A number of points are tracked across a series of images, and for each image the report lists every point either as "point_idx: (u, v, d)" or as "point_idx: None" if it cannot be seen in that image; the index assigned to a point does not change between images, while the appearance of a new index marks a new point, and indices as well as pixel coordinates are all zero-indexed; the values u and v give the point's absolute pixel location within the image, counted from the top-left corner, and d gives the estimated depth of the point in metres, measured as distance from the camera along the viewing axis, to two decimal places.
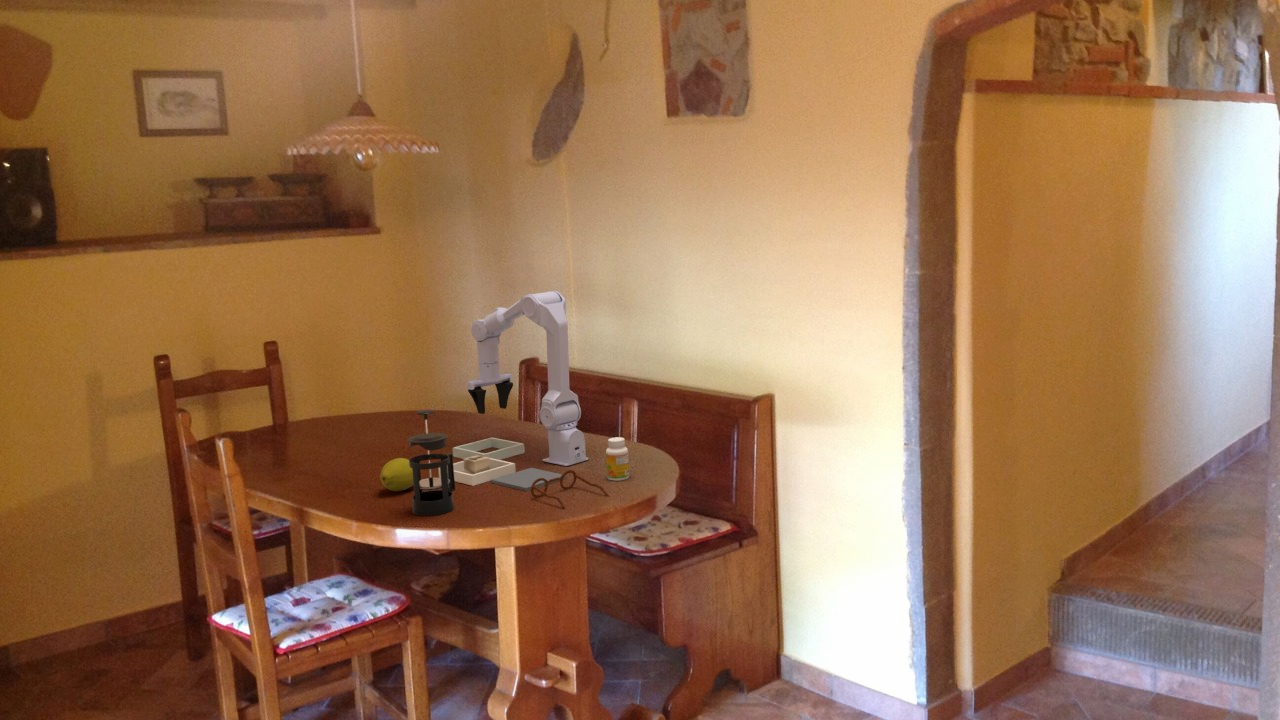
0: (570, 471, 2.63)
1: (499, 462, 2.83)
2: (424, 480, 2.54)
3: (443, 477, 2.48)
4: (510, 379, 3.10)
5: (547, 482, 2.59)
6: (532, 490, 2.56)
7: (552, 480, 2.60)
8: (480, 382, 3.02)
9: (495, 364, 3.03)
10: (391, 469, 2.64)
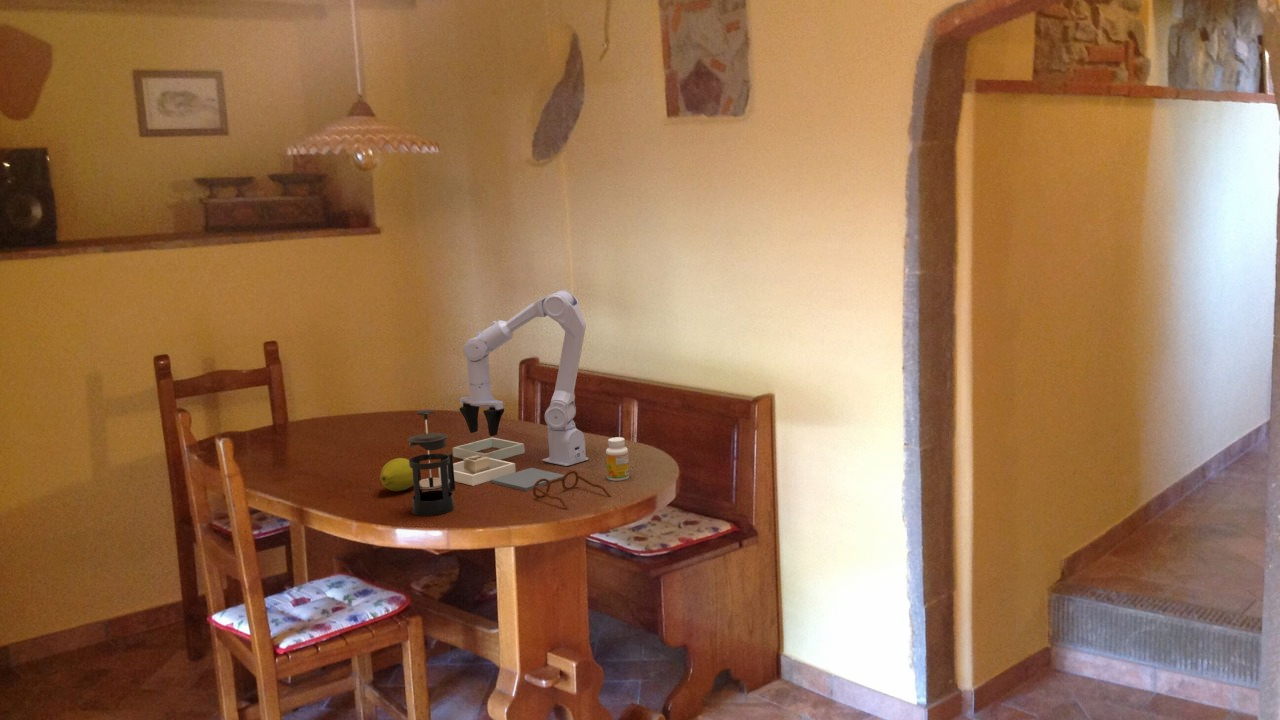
0: (572, 472, 2.62)
1: (499, 462, 2.83)
2: (424, 480, 2.54)
3: (443, 477, 2.48)
4: (495, 407, 2.86)
5: (549, 483, 2.58)
6: (534, 491, 2.56)
7: (554, 481, 2.59)
8: (464, 400, 2.93)
9: (471, 386, 2.88)
10: (391, 469, 2.64)
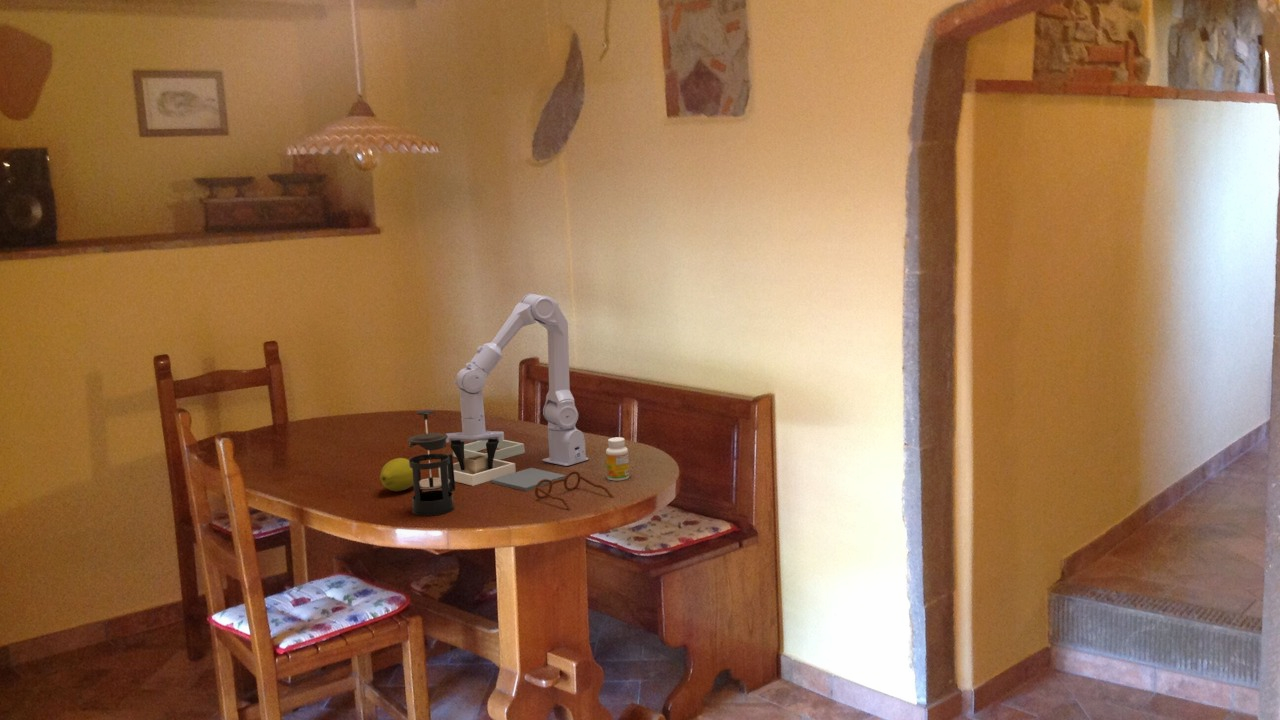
0: (574, 472, 2.62)
1: (499, 462, 2.83)
2: (424, 480, 2.54)
3: (443, 477, 2.48)
4: (499, 438, 2.77)
5: (551, 483, 2.58)
6: (536, 491, 2.55)
7: (556, 481, 2.59)
8: (454, 436, 2.77)
9: (470, 420, 2.75)
10: (391, 469, 2.64)
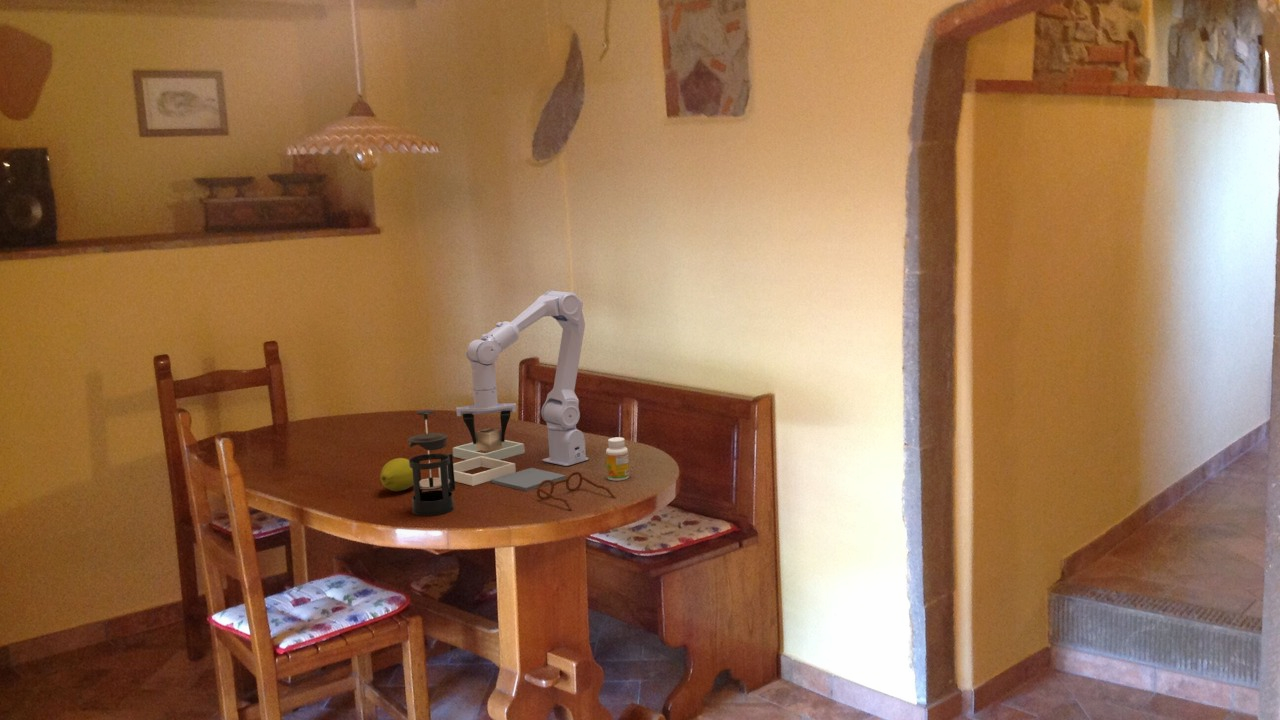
0: (576, 473, 2.61)
1: (499, 462, 2.83)
2: (424, 480, 2.54)
3: (443, 477, 2.48)
4: (512, 410, 2.75)
5: (553, 484, 2.57)
6: (538, 492, 2.55)
7: (558, 482, 2.58)
8: (467, 409, 2.73)
9: (484, 392, 2.71)
10: (391, 469, 2.64)
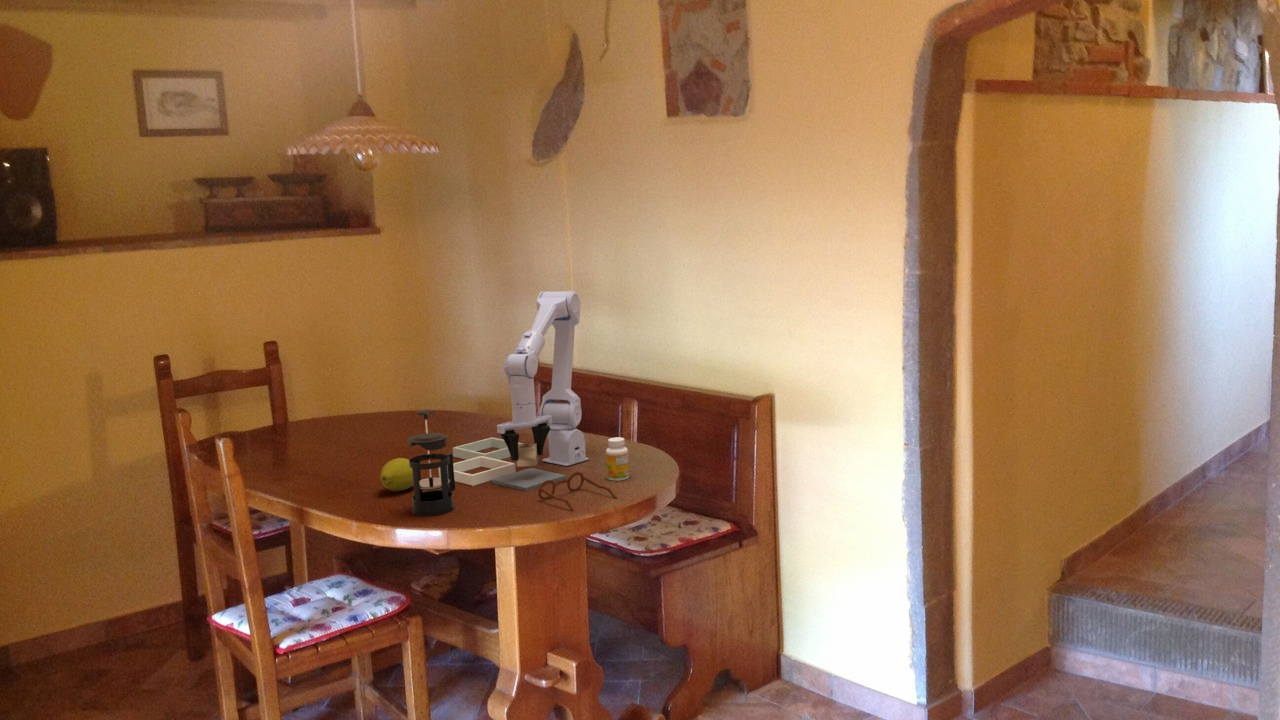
0: (577, 473, 2.61)
1: (499, 462, 2.83)
2: (424, 480, 2.54)
3: (443, 477, 2.48)
4: (549, 422, 2.73)
5: (554, 484, 2.57)
6: (540, 492, 2.54)
7: (559, 482, 2.58)
8: (511, 425, 2.66)
9: (529, 405, 2.67)
10: (391, 469, 2.64)
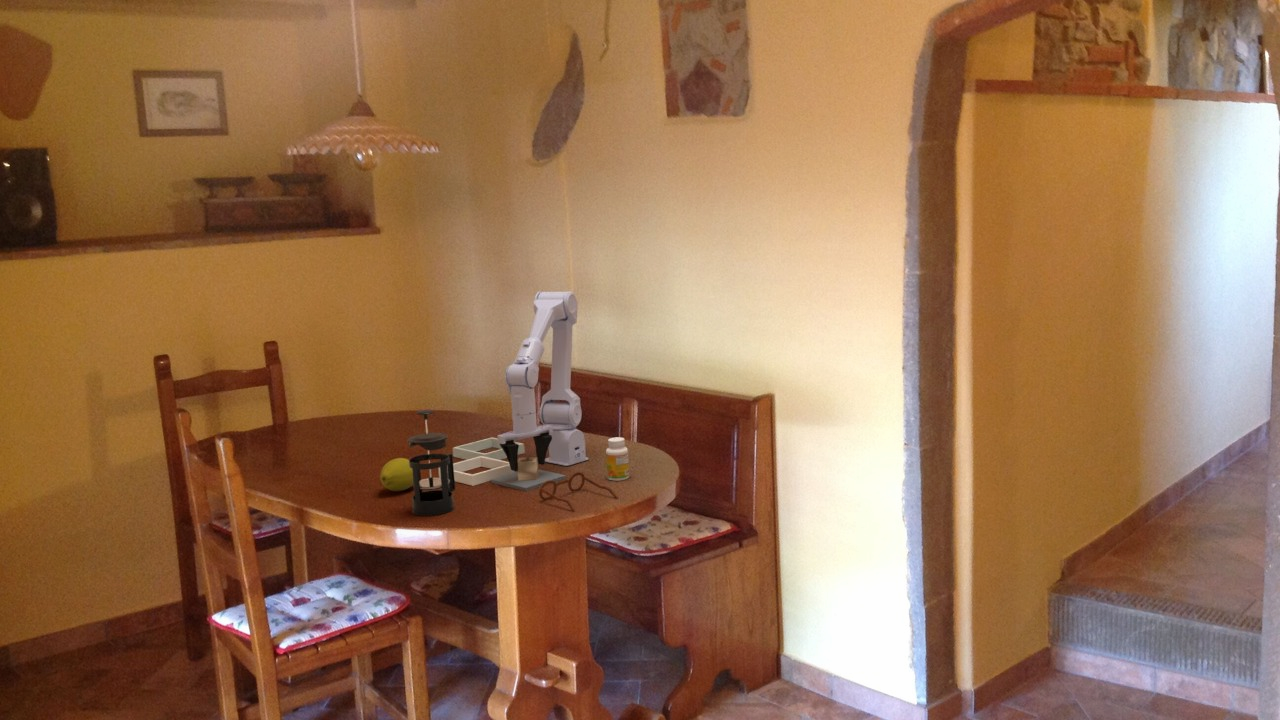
0: (578, 473, 2.60)
1: (499, 462, 2.83)
2: (424, 480, 2.54)
3: (443, 477, 2.48)
4: (549, 431, 2.74)
5: (556, 484, 2.56)
6: (541, 493, 2.54)
7: (560, 482, 2.57)
8: (512, 436, 2.66)
9: (530, 415, 2.67)
10: (391, 469, 2.64)
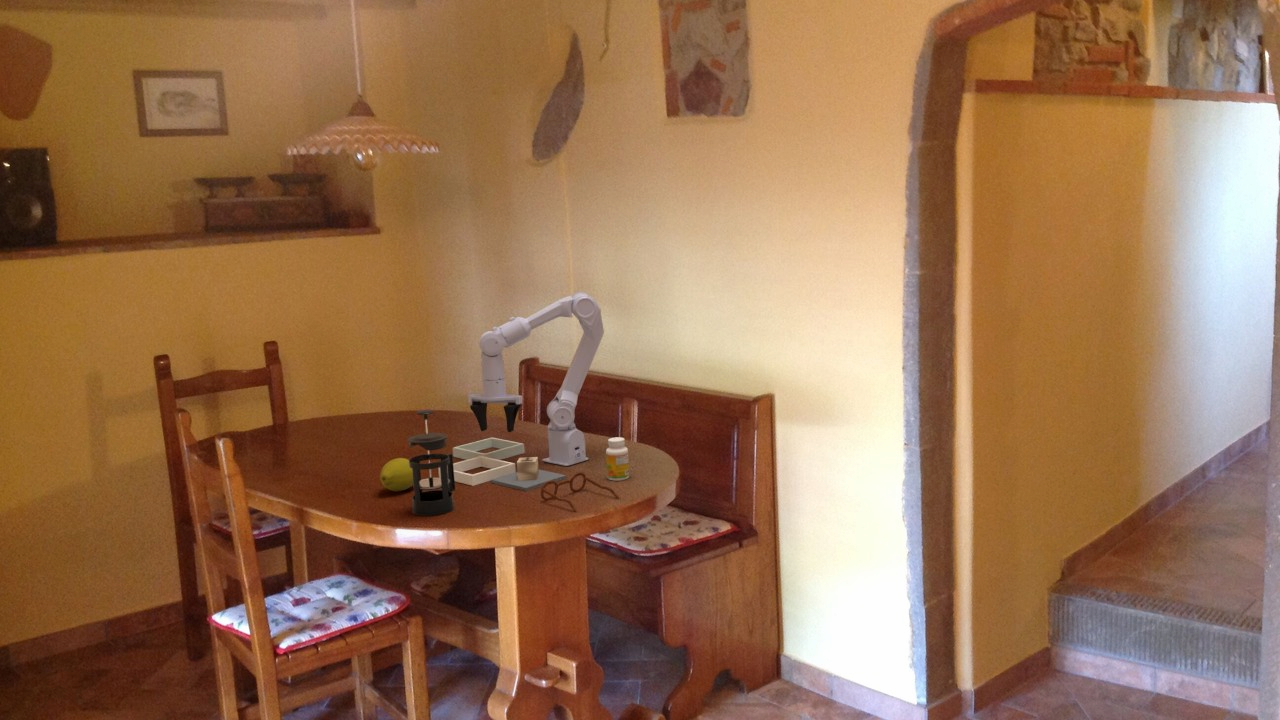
0: (580, 474, 2.60)
1: (499, 462, 2.83)
2: (424, 480, 2.54)
3: (443, 477, 2.48)
4: (516, 402, 2.81)
5: (557, 485, 2.56)
6: (542, 493, 2.54)
7: (562, 483, 2.57)
8: (476, 397, 2.84)
9: (488, 382, 2.81)
10: (391, 469, 2.64)
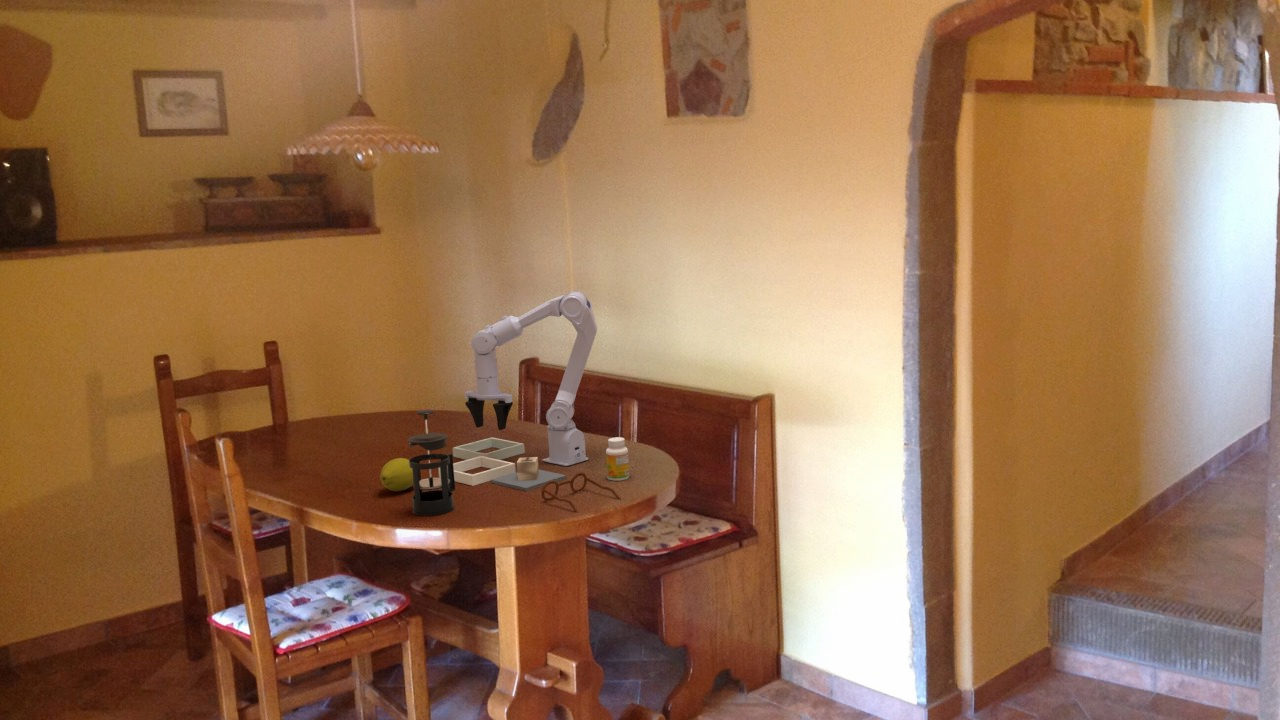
0: (581, 474, 2.60)
1: (499, 462, 2.83)
2: (424, 480, 2.54)
3: (443, 477, 2.48)
4: (505, 400, 2.84)
5: (558, 485, 2.56)
6: (543, 493, 2.53)
7: (563, 483, 2.57)
8: (470, 394, 2.89)
9: (479, 379, 2.85)
10: (391, 469, 2.64)
